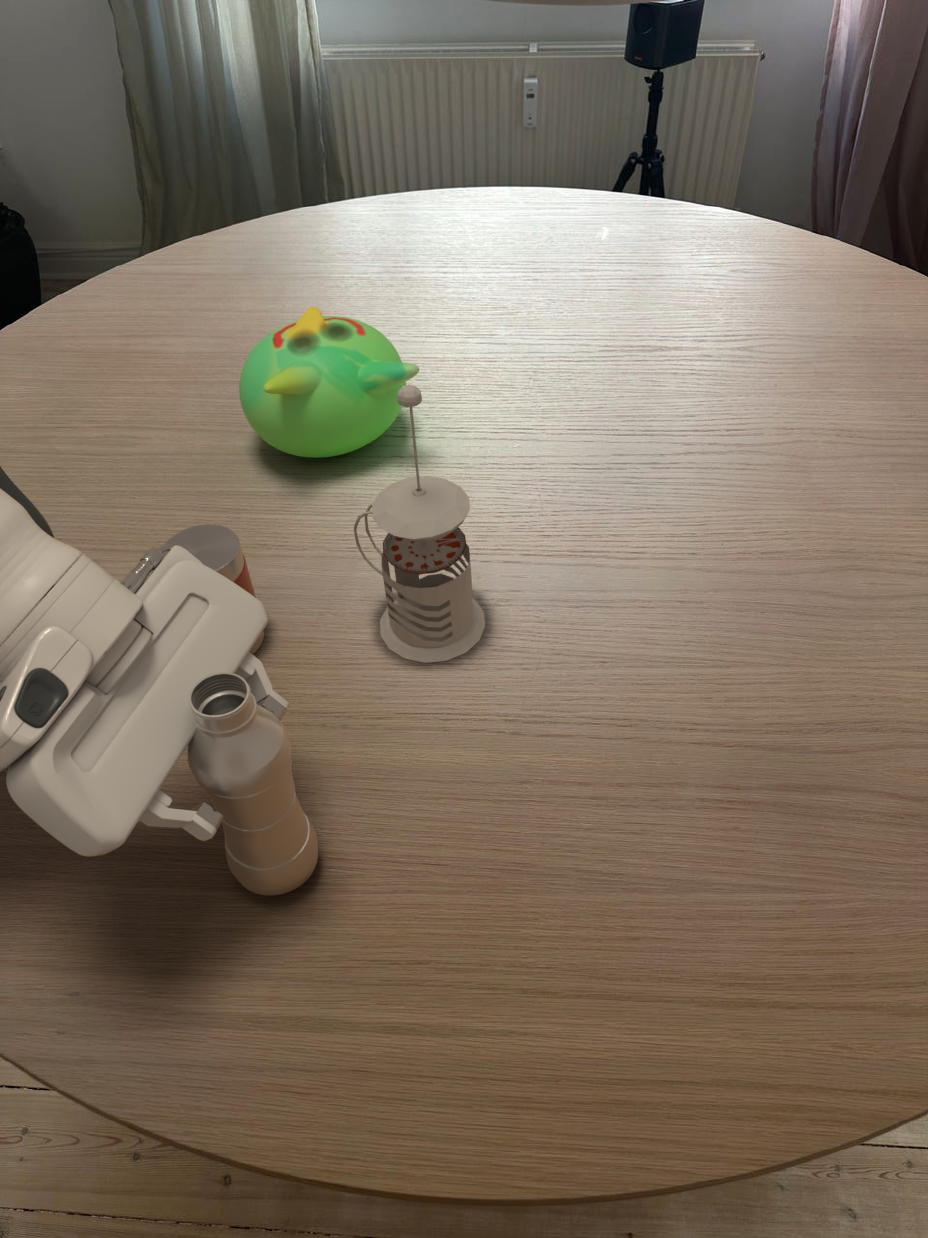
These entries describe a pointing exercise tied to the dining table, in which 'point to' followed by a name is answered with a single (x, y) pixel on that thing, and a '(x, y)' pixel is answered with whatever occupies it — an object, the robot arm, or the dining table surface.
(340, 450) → the toy bird
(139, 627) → the robot arm
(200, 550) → the food can
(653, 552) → the dining table surface
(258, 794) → the plastic bottle
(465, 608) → the french press
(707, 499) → the dining table surface
